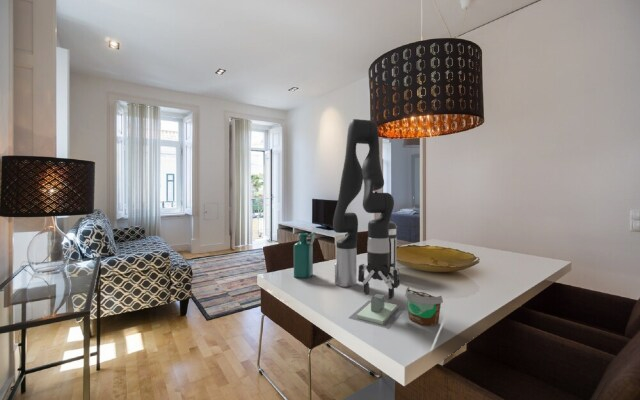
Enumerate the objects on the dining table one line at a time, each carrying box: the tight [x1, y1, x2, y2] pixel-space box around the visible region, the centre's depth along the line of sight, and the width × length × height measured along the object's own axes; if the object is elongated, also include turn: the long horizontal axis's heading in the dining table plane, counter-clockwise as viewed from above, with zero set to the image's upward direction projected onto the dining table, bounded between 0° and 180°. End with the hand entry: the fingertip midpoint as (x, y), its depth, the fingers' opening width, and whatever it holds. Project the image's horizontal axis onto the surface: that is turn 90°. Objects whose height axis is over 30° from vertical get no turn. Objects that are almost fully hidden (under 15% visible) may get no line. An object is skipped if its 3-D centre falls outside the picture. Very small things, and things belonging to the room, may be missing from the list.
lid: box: [357, 293, 398, 325], centre depth 98 cm, size 9×15×6 cm, turn 148°
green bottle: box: [293, 232, 316, 279], centre depth 143 cm, size 10×8×22 cm
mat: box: [348, 299, 406, 330], centre depth 98 cm, size 14×18×1 cm
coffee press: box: [389, 220, 398, 274], centre depth 145 cm, size 17×16×30 cm
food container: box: [404, 286, 444, 327], centre depth 91 cm, size 12×6×10 cm, turn 45°
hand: (378, 296), depth 97 cm, fingers open, 8 cm apart
